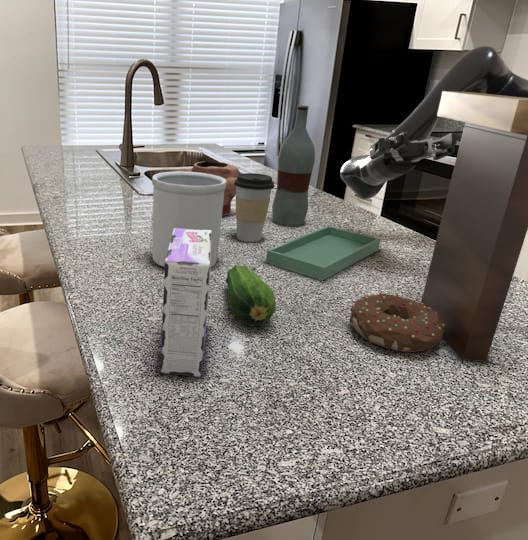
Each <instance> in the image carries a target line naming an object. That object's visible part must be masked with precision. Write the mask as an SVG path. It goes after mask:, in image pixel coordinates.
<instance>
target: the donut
mask: <svg viewBox="0 0 528 540" xmlns="http://www.w3.org/2000/svg"><path fill="white" fill-rule="evenodd" d="M349 309H350V317H349V323H350V324H351V325H352V326H353V327H354V329H355V330H356V332H357V333H358V334H359V335H360V336H361V337H362V338H364V339H366V340H367V341H369V342H371V343H372V344H375V345H378V346H380V347H382V348H385V349H389V350H393V351H398V352H399V351H400V352H411V353H413V352H422V351H423V352H424V351H426V350H428V349H432V348H433V347H435V346H436V345H440V342H441V340H443V338H442V337H443V333H444V330H445V328H444V324H443V322H442V320H441V319H440V317H439V315H438V314H437V312H435V311H433V310H431V308H430V307H427V306H426V305H423V303H421V302H418V301H416V300H414V299H411V298H408V297H406V296H400V295H399V294H396V295H395V294H394V293H391V294H390V293H385V292H383V293H382V292H380V293H379V294H370V295H369V294H366V295H364V296H361V297H359V298H357V299H356V300H354V303H353V304H352V305H351V307H350V308H349Z"/></svg>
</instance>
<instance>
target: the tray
mask: <svg viewBox="0 0 528 540" xmlns="http://www.w3.org/2000/svg"><path fill="white" fill-rule="evenodd" d="M381 241H382V240H381V238H378V237H374V236H371V235H367V234H362V233H359V232H354V231H350V230H346V229H343V228H338V227H334V226H330V225H327V226H324V227H321V228H320V229H317V230H314V231H311V232H309V233H306V234H304V235H302V236H299V237H296V238H295V239H294V238H293V239H291V240H289V241H287V242H284V243H282V244H280V245H277V246H275V247H272V248H269V249H267V250H266V258H265V263H266V264H269V265H272V266H276V267H278V268H282V269H284V270H288V271H291V272H294V273H298V274H300V275H303V276H306V277H309V278H312V279H315V280H319V281H322V282H323V281H325V280H326V279H328V278H331V277H332V276H334V275H336V274H338V273H340V272H342V271H343V270H345V269H347V268H348V267H350V266H352V265H354V264H356V263H358V262H360V261H362V260H363V259H365V258H367V257H369V256H371V255H373V253H376V252H379V249H380V245H381Z"/></svg>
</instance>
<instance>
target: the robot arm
mask: <svg viewBox="0 0 528 540" xmlns="http://www.w3.org/2000/svg"><path fill="white" fill-rule="evenodd" d="M442 91H455V92H473V93H483V94H493V95H502V96H512V97H522V98H528V79H526V78H524V77H523V76H522V77H521V76H520V75H518V74H516V73H514V72H513V71H512V70H511V69H510V68H509V67H508V66H507V64H506V62H505V61H504V60H503V58H502V56H501V55H500V54H499V52H498V51H497V50H496V48H494V47H493V46H490V45H481V46H477V47H475V48H473V49H471V50H468V51H467V52H466V53H464V54H463V55H462V56H461V57H460V58H459V59H457V60H456V62H455V63H454V64H452V66H451V67H450V68H449V69H448V70H447V71H446V73H444V75H443V77H441V79H439V81H438V82H437V83H436V85H435V86H434V87H433V88H432V89H431V90H430V91H429V92H428V94H427V95H426V96H425V97H424V99H423V100H422V101H421V102H420V103H419V104H418V106H416V108H415V109H414V110H413V111H412V112H411V113H410V114H409V116H408V117H406V118H405V119H404V120H403V121H402V122H401V123H400V124H399V125H398V126H396V128H395V129H393V130H392V131H391V132H390V133H389V134H387V135H386V136H385V137H384V138H383V137H380V138H378V139H376V141H375V142H374V143H372V144H371V145H370V146H369V154H363V155H356V156H353V157H352V158H350V159H348V160H347V161H346V162H345V163H343V165H342V166H341V168H340V171H339V176H340V178H341V180H342V182H343V183H344V184H346V186H347V187H348V188H349V189H350V190H351V191H352V192H353V193H354V194H355V195H356V196H357V197H358V198H359V199H361V200H370V199H373V198H375V196H377V195H378V194H379V193H380V191H381V190H382V188H383V187H384V186H385V184H386V183H387V182H389V181H393V180H395V179H398V178H399V177H401V176H404V175H406V174H407V173H409V172H411V171H413V169H414V168H415V167H416V166H417V164H418V162H420V161H421V160H425V159H430V158H432V160H434V161H439V160H441V159H443V158H446V157H448V156H451V155H453V154H454V153H455V152H456V150H455V145H457V142H458V141H457V140H458V139H457V138H458V137H457V134H456V133H455V132H449V133H448V134H445V135H444V136H442V137H441V138H437V139H433V138H432V137H431V138H430V136H431V134H432V132H433V130H434V129H435V127H436V125H437V123H438V121H439V119H440V118H441V117H439V116H437V114H438V109H439V105H440V100H441V96H442Z"/></svg>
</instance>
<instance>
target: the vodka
mask: <svg viewBox="0 0 528 540" xmlns="http://www.w3.org/2000/svg"><path fill="white" fill-rule="evenodd" d="M296 107H297V110H296V117H295V123H294V128H293V129H292V130H291V132H290V134H289V135H288V136H287V137H286V139H285V140H284V141H283V142H282V144H281V146H280V149H279V154H278V156H277V177H276V181H277V182H276V190H275V193H274V197H273V201H272V204H271V217H272V221H273V223H275V224H277V225H280V226H286V227H300V226H302V225H304V224H305V221H306V218H307V214H308V210H309V188H310V184H311V180H312V179H311V178H312V174H313V170H314V166H315V162H316V149H315V145H314V143H313V141H312V138H311V136H310V134H309V132H308V130H307V121H308V115H309V114H308V112H309V108H310V107H309V105H303V104H302V105H301V104H300V105H299V104H298V105H297V106H296Z"/></svg>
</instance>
